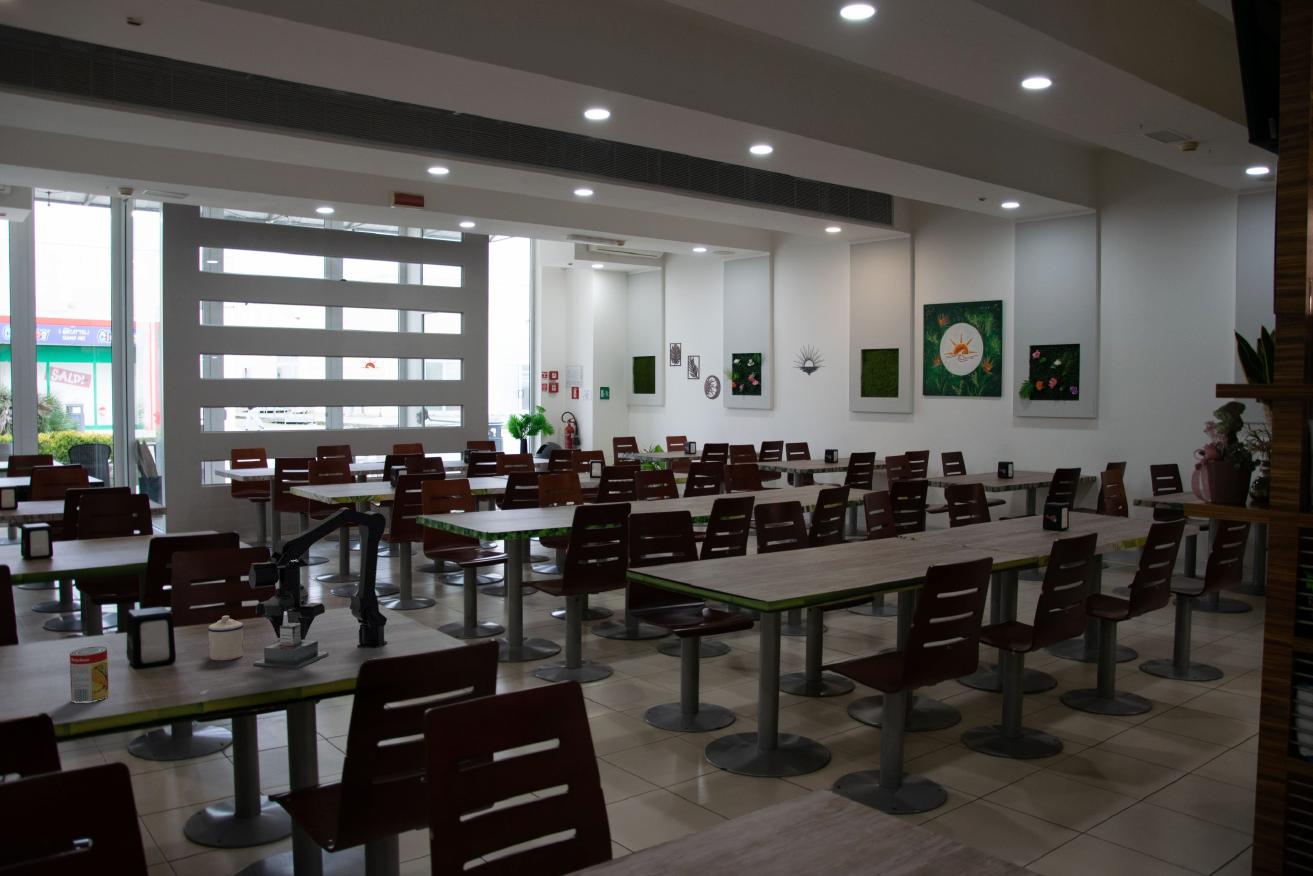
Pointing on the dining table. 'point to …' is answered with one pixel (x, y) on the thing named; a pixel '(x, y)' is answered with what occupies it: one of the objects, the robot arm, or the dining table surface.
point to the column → (290, 635)
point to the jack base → (291, 655)
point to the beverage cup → (293, 615)
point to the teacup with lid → (226, 639)
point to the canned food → (89, 674)
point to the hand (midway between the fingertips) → (291, 638)
